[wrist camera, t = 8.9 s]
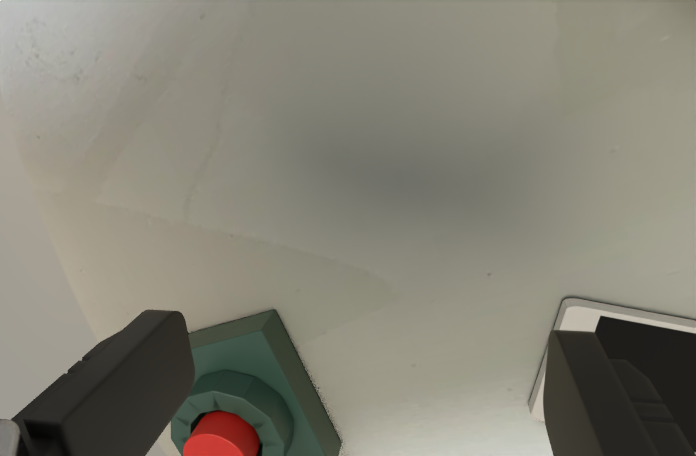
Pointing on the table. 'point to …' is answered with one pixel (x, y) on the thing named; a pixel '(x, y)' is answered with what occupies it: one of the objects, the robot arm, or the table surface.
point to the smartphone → (638, 353)
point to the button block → (256, 388)
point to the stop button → (222, 436)
